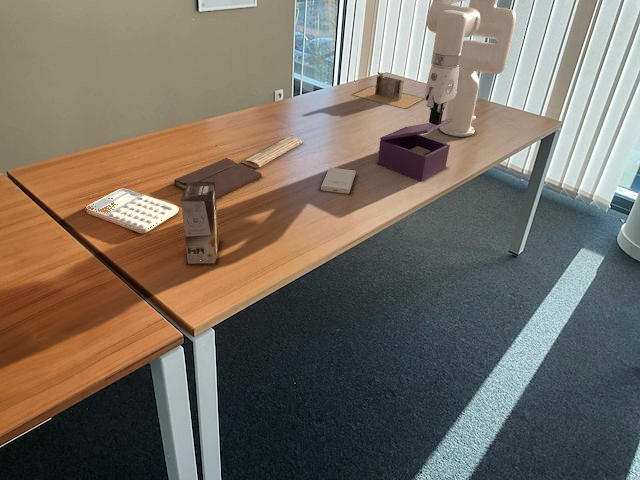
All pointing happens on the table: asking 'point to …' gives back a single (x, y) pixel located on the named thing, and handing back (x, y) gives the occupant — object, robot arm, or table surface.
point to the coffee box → (200, 222)
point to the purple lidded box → (413, 156)
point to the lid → (415, 130)
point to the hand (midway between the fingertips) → (434, 123)
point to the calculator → (134, 210)
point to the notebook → (221, 176)
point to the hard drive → (338, 180)
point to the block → (420, 150)
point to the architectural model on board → (389, 92)
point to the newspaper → (272, 152)
